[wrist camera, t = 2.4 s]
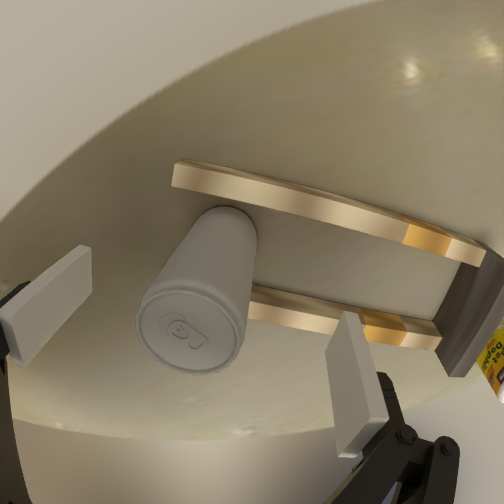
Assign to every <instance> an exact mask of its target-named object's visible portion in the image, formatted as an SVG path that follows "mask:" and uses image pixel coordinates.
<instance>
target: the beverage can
mask: <svg viewBox="0 0 504 504" xmlns="http://www.w3.org/2000/svg"><path fill="white" fill-rule="evenodd" d="M256 249H257V234H256V230H255V227H254V225H253V223H252V221H251V220H250V219H249V217H248V216H247V215H246V214H244V213H243V212H242V211H240V210H238V209H235V208H233V207H225V206H221V207H215V208H212V209H210V210H208V211H206V212H205V213H204V214H202V215H201V216H200V217H199V218H198V220H197V221H196V222H195V224H194V225H193V227H192V228H191V229H190V231H189V232H188V233H187V235H186V236H185V237H184V239H183V240H182V242H181V243H180V244H179V246H178V247H177V249H176V250H175V251H174V253H173V254H172V256H171V257H170V258H169V260H168V261H167V263H166V264H165V265H164V267H163V268H162V270H161V271H160V273H159V274H158V275H157V277H156V278H155V280H154V281H153V283H152V284H151V286H150V287H149V289H148V290H147V292H146V293H145V295H144V297H143V299H142V300H141V302H140V306H139V310H138V312H137V316H136V322H135V325H136V332H137V336H138V338H139V340H140V342H141V345H142V346H143V347H144V349H145V350H146V351H147V353H148V354H149V355H150V356H151V357H152V358H154V359H155V360H156V361H157V362H158V363H160V364H162V365H163V366H165V367H167V368H169V369H171V370H173V371H176V372H179V373H182V374H188V375H209V374H213V373H217V372H219V371H221V370H223V369H225V368H227V367H228V366H229V365H230V364H231V363H232V362H233V361H234V360H235V358H236V356H237V354H238V352H239V350H240V348H241V345H242V343H243V341H244V338H245V331H246V324H247V317H248V310H249V303H250V296H251V289H252V281H253V274H254V266H255V258H256Z"/></svg>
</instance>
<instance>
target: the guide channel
mask: <svg viewBox="0 0 504 504" xmlns="http://www.w3.org/2000/svg"><path fill="white" fill-rule="evenodd" d="M171 186H173V187H178V188H183V189H188V190H192V191H197V192H202V193H206V194H211V195H215V196H220V197H224V198H229V199H233V200H238V201H242V202H246V203H251V204H255V205H259V206H263V207H267V208H272V209H276V210H280V211H284V212H288V213H292V214H296V215H300V216H304V217H308V218H312V219H315V220H319V221H323V222H327V223H331V224H335V225H338V226H342V227H346V228H349V229H353V230H357V231H360V232H364V233H368V234H371V235H375V236H378V237H382V238H385V239H389V240H392V241H396V242H399V243H402V244H406V245H409V246H413V247H416V248H419V249H423V250H426V251H429V252H432V253H436V254H439V255H442V256H445V257H448V258H452V259H455V260H458V261H461V262H462V263H461V265H460V267H459V270H458V272H457V274H456V276H455V278H454V280H453V283H452V285H451V287H450V289H449V291H448V293H447V295H446V297H445V299H444V301H443V303H442V305H441V307H440V308H439V310H438V312H437V314H436V316H435V318H434V320H433V321H427V320H421V319H416V318H411V317H406V316H400V315H395V314H390V313H385V312H380V311H375V310H370V309H365V308H360V307H355V306H350V305H345V304H340V303H336V302H331V301H326V300H321V299H317V298H312V297H307V296H303V295H298V294H294V293H289V292H285V291H280V290H276V289H271V288H267V287H262V286H258V285H254V284H252V289H251V296H250V303H249V310H248V317H247V318H250V319H255V320H259V321H264V322H269V323H273V324H278V325H283V326H288V327H293V328H298V329H303V330H308V331H313V332H319V333H324V334H330V335H333V334H334V332H335V329H336V327H337V325H338V323H339V320H340V318H341V316H342V314H343V311H348V312H353V313H357V314H358V316H359V319H360V322H361V325H362V328H363V331H364V334H365V337H366V340H367V341H371V342H377V343H383V344H390V345H397V346H404V347H411V348H418V349H426V350H434V351H435V352H436V354H437V356H438V358H439V360H440V362H441V363H442V365H443V367H444V369H445V371H446V373H447V375H448V377H465V376H466V374H467V373H468V371H469V370H470V369H471V367H472V366H473V364H474V363H475V361H476V360H477V358H478V357H479V355H480V354H481V352H482V351H483V349H484V348H485V346H486V345H487V343H488V341H489V340H490V338H491V337H492V335H493V333H494V332H495V330H496V328H497V327H498V325H499V323H500V322H501V320H502V318H503V316H504V258H502V257H501V256H500V255H499V254H497V253H496V252H495V251H494V250H492V249H491V248H490V247H488V246H487V245H485V244H483V243H480V242H478V241H475V240H472V239H470V238H467V237H465V236H462V235H459V234H457V233H454V232H451V231H448V230H446V229H443V228H440V227H437V226H434V225H432V224H429V223H426V222H423V221H420V220H417V219H414V218H411V217H408V216H405V215H402V214H399V213H396V212H393V211H390V210H386V209H383V208H380V207H377V206H374V205H370V204H367V203H364V202H360V201H357V200H354V199H350V198H347V197H343V196H340V195H336V194H333V193H329V192H326V191H322V190H318V189H315V188H311V187H307V186H303V185H299V184H296V183H292V182H288V181H284V180H280V179H276V178H272V177H267V176H263V175H259V174H255V173H250V172H246V171H242V170H237V169H233V168H228V167H223V166H219V165H214V164H209V163H204V162H199V161H194V160H189V159H184V160H182V161H179V162H177V163H175V165H174V171H173V178H172V184H171Z"/></svg>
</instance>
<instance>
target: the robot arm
mask: <svg viewBox="0 0 504 504" xmlns="http://www.w3.org/2000/svg"><path fill="white" fill-rule="evenodd" d="M92 292H93V289H92V248H90V247H87V246H84V245H79V246H77V247H76V248H74V249H73V250H72V251H70V252H69V253H68V254H66V255H65V256H64V257H62V258H61V259H60V260H59V261H57V262H56V263H55V264H53V265H52V266H51V267H50V268H48V269H47V270H46V271H44V272H43V273H42V274H41V275H39V276H38V277H37V278H36V279H35V280H33V281H32V282H30V281H27V282H25V283H22V284H20V285H18V286H17V287H16V288H15V289H14V290H13V291H11V292H10V293H9V294H8V295H7V296H5V297H4V298H3V299H2V300H0V504H32V502H31V500H30V498H29V495H28V492H27V488H26V485H25V481H24V477H23V473H22V469H21V465H20V460H19V455H18V451H17V445H16V440H15V434H14V429H13V422H12V414H11V406H10V397H9V386H8V371H7V360H6V355H7V354H8V353H9V352H10V355H11V357H12V360H13V362H14V363H16V364H18V365H20V366H21V367H23V368H26V367H27V366H28V365H29V363H30V362H31V361H32V360H33V359H34V357H35V356H36V355H37V354H38V353H39V351H40V350H41V349H42V348H43V347H44V346H45V344H46V343H47V342H48V341H49V340H50V339H51V337H52V336H53V335H54V334H55V333H56V332H57V331H58V329H59V328H60V327H61V326H62V325H63V324H64V323H65V322H66V320H67V319H68V318H69V317H70V316H71V315H72V314H73V313H74V312H75V311H76V309H77V308H78V307H79V306H80V305H81V304H82V303H83V302H84V301H85V300H86V299H87V298H88V297H89V296H90V294H91V293H92ZM325 355H326V362H327V369H328V376H329V384H330V392H331V400H332V408H333V416H334V425H335V434H336V443H337V453H338V457H352V458H353V457H354V458H355V457H356V456H357V455H358V454H359V453H360V452H361V451H362V453H363V459H362V460H361V461H360V462H359V463H358V464H357V465H356V466H355V467H354V468H353V469H352V472H351V473H350V474H349V475H348V476H347V478H346V479H345V480H344V481H343V482H342V483H341V484H340V486H339V487H338V488H337V489H336V490H335V491H334V492H333V493H332V494H331V495H330V496H329V497H328V499H327V500H326V501H325V502H324V503H323V504H381V503H382V501H383V500H384V499H385V497H386V496H387V494H388V493H389V491H390V490H391V488H392V487H393V485H394V484H395V482H398V483H397V486H396V489H395V493H394V496H393V499H392V502H391V504H453V503H454V497H455V490H456V484H457V476H458V467H459V457H460V450H459V446H458V444H457V443H456V442H455V441H454V440H453V439H452V438H450V437H446V436H442V437H439V438H438V439H437V440H436V441H435V442H430V441H427V440H423V439H420V438H418V435H417V433H416V431H415V430H414V429H413V428H412V427H411V426H409V425H407V424H405V422H404V418H403V415H402V412H401V408H400V405H399V402H398V399H397V396H396V392H394V391H395V389H394V386H393V383H392V381H391V379H390V378H389V377H388V376H387V374H386V373H383V372H376V369H375V366H374V363H373V359H372V356H371V353H370V350H369V347H368V343H367V340H366V337H365V334H364V331H363V328H362V325H361V322H360V319H359V316H358V314H357V313H353V312H348V311H343V314H342V316H341V318H340V320H339V323H338V325H337V327H336V329H335V332H334V334H333V336H332V338H331V340H330V342H329V344H328V347H327V349H326V351H325Z"/></svg>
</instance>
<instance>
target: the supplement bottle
mask: <svg viewBox="0 0 504 504" xmlns="http://www.w3.org/2000/svg"><path fill="white" fill-rule="evenodd" d="M476 362H477V363H478V365H479V367H480V368H481V370H482V372H483V373H484V375H485V377H486V378H487V380H488V382H489V383H490V385H491V387H492V389H493V390H494V392H495V394H496V396H497V398H498V399H499V401H500V402H501V403H504V317H503V318H502V320H501V322H500V323H499V325H498V327H497V328H496V330H495V332H494V333H493V335H492V337H491V338H490V340H489V341H488V343H487V345H486V346H485V348H484V349H483V351H482V352H481V354H480V355H479V357H478V358H477V360H476Z"/></svg>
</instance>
